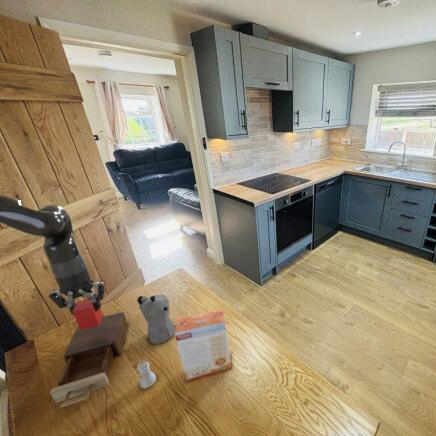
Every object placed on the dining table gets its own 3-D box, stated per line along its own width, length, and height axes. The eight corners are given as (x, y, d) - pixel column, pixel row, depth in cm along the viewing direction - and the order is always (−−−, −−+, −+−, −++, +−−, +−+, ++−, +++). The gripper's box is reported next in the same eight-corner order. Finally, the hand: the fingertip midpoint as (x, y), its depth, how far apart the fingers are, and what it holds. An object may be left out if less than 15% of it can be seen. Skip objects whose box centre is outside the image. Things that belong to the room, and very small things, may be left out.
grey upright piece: (184, 330, 92) (176, 293, 85) (164, 350, 84) (153, 311, 77) (156, 317, 98) (147, 282, 91) (134, 335, 90) (122, 298, 83)
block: (80, 330, 78) (72, 311, 75) (85, 319, 83) (78, 301, 79) (99, 325, 80) (91, 307, 77) (103, 314, 84) (96, 297, 81)
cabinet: (119, 355, 82) (114, 342, 79) (70, 370, 77) (62, 356, 74) (127, 324, 94) (123, 311, 92) (85, 335, 89) (79, 322, 87)
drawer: (104, 400, 68) (99, 389, 67) (49, 419, 64) (42, 408, 62) (118, 349, 83) (114, 339, 81) (74, 361, 79) (69, 351, 77)
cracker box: (229, 353, 84) (224, 307, 76) (231, 368, 79) (225, 322, 70) (187, 364, 80) (176, 317, 71) (185, 381, 74) (173, 333, 66)
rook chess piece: (151, 389, 72) (145, 372, 69) (136, 389, 72) (130, 371, 69) (159, 375, 76) (154, 358, 73) (145, 374, 76) (139, 357, 73)
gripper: (101, 258, 78) (115, 298, 85) (45, 267, 73) (65, 309, 80) (94, 271, 72) (110, 313, 79) (32, 282, 67) (55, 326, 74)
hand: (87, 311), depth 79 cm, fingers closed on block, 5 cm apart
